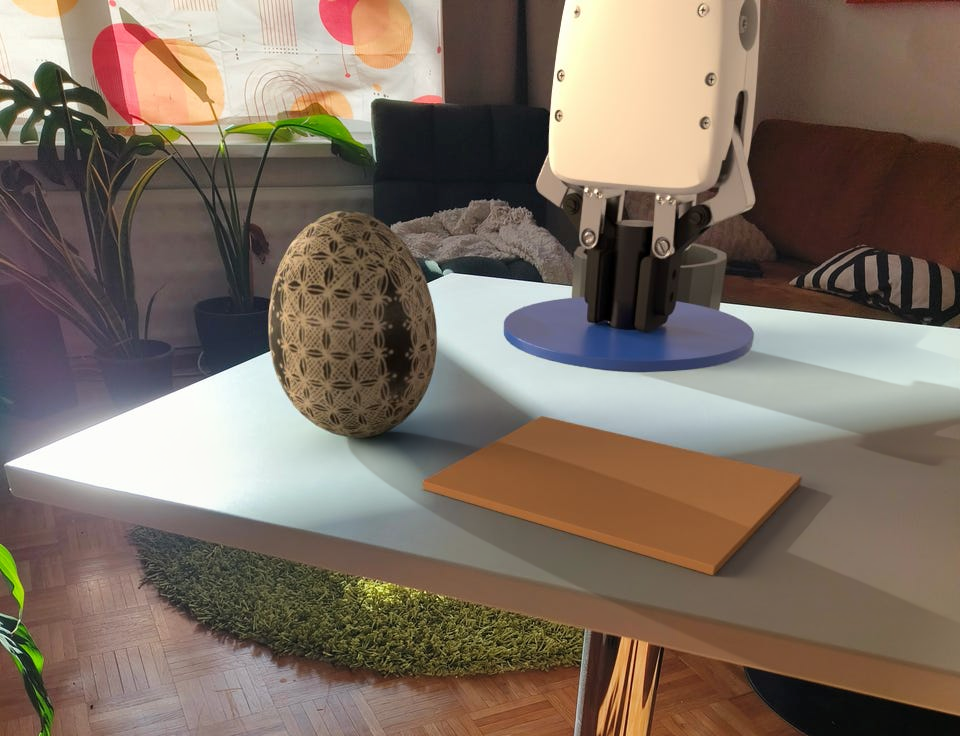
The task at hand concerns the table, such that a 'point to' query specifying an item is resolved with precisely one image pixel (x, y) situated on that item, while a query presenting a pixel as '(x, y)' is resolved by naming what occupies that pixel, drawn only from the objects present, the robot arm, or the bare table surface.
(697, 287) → the pot
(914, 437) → the table surface
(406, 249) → the decorative egg
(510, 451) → the cork mat
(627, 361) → the blue lid
